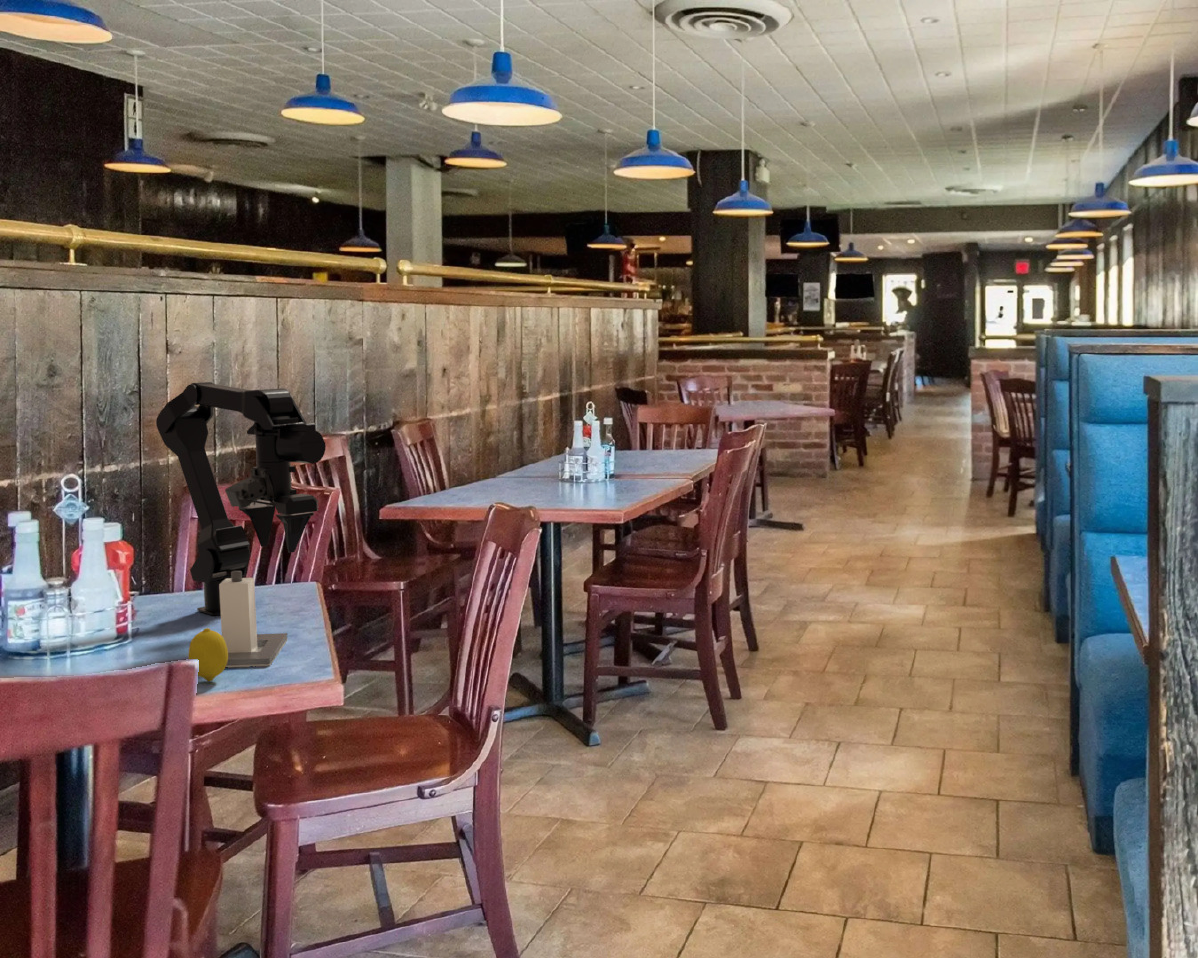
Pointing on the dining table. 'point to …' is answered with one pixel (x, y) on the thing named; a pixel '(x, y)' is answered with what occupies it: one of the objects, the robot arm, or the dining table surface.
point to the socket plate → (259, 651)
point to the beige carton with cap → (238, 613)
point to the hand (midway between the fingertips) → (277, 549)
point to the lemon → (209, 653)
